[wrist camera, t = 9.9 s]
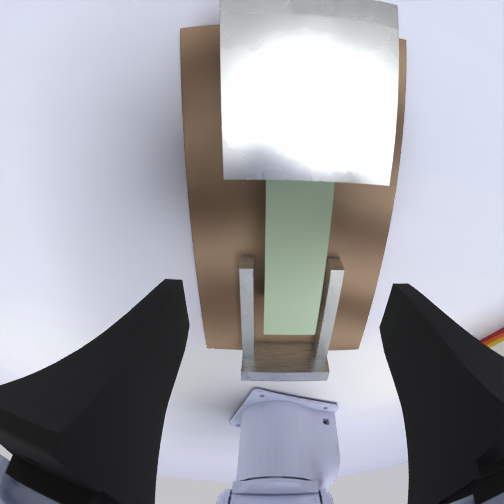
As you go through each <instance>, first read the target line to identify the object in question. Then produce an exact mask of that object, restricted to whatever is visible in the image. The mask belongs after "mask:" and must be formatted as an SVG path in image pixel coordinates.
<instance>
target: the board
mask: <svg viewBox="0 0 504 504" xmlns="http://www.w3.org/2000/svg"><path fill="white" fill-rule="evenodd" d="M180 53H181V90H182V113H183V131H184V147H185V162H186V175H187V187H188V198H189V209H190V220H191V229H192V239H193V248H194V257H195V265H196V273H197V281H198V289H199V296H200V304H201V311H202V318H203V325H204V331H205V338H206V344H207V348H214V349H234V350H242V327H241V303H240V276H239V267H240V261H241V255H247V256H254V276H255V342H314V340H315V335H267V334H264V293H265V226H266V180H224V173H223V146H222V113H221V68H220V25H208V26H198V27H189V28H181V29H180ZM405 93H406V40H404V39H399V79H398V103H397V118H396V131H395V142H394V152H393V161H392V169H391V177H390V184H389V186H386V185H374V184H360V183H344V182H335V185H334V196H333V207H332V216H331V226H330V235H329V243H328V251H327V257H340V259H341V262H342V265H343V267H344V276H343V282H342V287H341V292H340V298H339V303H338V308H337V313H336V317H335V322H334V327H333V331H332V336H331V340H330V345H329V349H328V350H352V349H358V348H359V345H360V342H361V339H362V335H363V332H364V329H365V325H366V322H367V318H368V315H369V311H370V308H371V304H372V300H373V297H374V293H375V289H376V285H377V281H378V277H379V273H380V269H381V264H382V260H383V255H384V251H385V246H386V241H387V237H388V231H389V226H390V221H391V215H392V210H393V204H394V198H395V192H396V185H397V178H398V171H399V163H400V154H401V145H402V135H403V124H404V111H405ZM326 263H327V259H326ZM325 270H326V267H325ZM324 278H325V274H324ZM323 285H324V281H323ZM322 291H323V288H322ZM321 298H322V295H321ZM320 304H321V301H320ZM319 311H320V308H319ZM318 317H319V314H318ZM317 323H318V320H317ZM316 329H317V326H316ZM315 334H316V332H315Z"/></svg>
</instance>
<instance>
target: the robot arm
mask: <svg viewBox="0 0 504 504" xmlns="http://www.w3.org/2000/svg"><path fill="white" fill-rule="evenodd" d="M379 328H380V333H381V338H382V343H383V348H384V353H385V356H386V359H387V362H388V365H389V368H390V371H391V374H392V377H393V380H394V383H395V387H396V390H397V393H398V396H399V399H400V403H401V407H402V411H403V417H404V423H405V430H406V438H407V448H408V464H409V489H408V504H504V357H503V356H502V355H500V354H498V353H497V352H495V351H494V350H492V349H491V348H489V347H488V346H486V345H485V344H483V343H482V342H480V341H479V340H478V339H476V338H475V337H473V336H472V335H471V334H470V333H468V332H467V331H466V330H464V329H463V328H462V327H461V326H459V325H458V324H457V323H456V322H454V321H453V320H452V319H451V318H450V317H448V316H447V315H446V314H445V313H444V312H443V311H441V310H440V309H439V308H438V307H437V306H436V305H434V304H433V303H432V302H431V301H430V300H429V299H427V298H426V297H425V296H424V295H423V294H421V293H420V292H419V291H418V290H416V289H415V288H414V287H412V286H411V285H410V284H393V286H392V289H391V293H390V296H389V299H388V303H387V306H386V309H385V312H384V315H383V318H382V321H381V324H380V327H379ZM188 331H189V319H188V313H187V307H186V301H185V295H184V289H183V282H182V280H174V279H165V280H164V281H162V282H161V283H160V284H159V285H158V286H157V287H156V288H154V289H153V290H152V291H151V292H150V293H149V294H148V295H147V296H146V297H145V298H144V299H142V300H141V301H140V302H139V303H138V304H137V305H136V306H135V307H133V308H132V309H131V310H130V311H129V312H128V313H127V314H126V315H124V316H123V317H122V318H121V319H119V320H118V321H117V322H116V323H115V324H113V325H112V326H111V327H110V328H108V329H107V330H106V331H105V332H103V333H102V334H101V335H99V336H98V337H96V338H95V339H94V340H92V341H91V342H89V343H88V344H86V345H85V346H83V347H82V348H80V349H79V350H77V351H75V352H73V353H72V354H70V355H68V356H67V357H65V358H63V359H61V360H60V361H58V362H56V363H54V364H52V365H50V366H48V367H46V368H44V369H42V370H40V371H37V372H35V373H33V374H31V375H28V376H26V377H23V378H20V379H18V380H15V381H12V382H9V383H6V384H3V385H0V444H1V445H2V446H3V447H4V448H6V449H7V450H8V451H9V452H10V453H11V454H13V456H12V458H11V461H9V460H8V459H6V458H5V457H3V456H2V455H0V504H155V487H156V475H157V465H158V457H159V449H160V442H161V436H162V430H163V424H164V419H165V413H166V409H167V405H168V401H169V398H170V395H171V392H172V389H173V386H174V383H175V379H176V376H177V373H178V370H179V367H180V364H181V361H182V358H183V354H184V351H185V347H186V342H187V337H188ZM337 410H338V405H337V404H331V403H325V402H319V401H314V400H308V399H303V398H298V397H293V396H288V395H283V394H278V393H274V392H269V391H265V390H261V389H254V390H253V391H252V392H251V393H250V395H249V396H248V397H247V399H246V400H245V402H244V403H243V404H242V406H241V407H240V408H239V410H238V411H237V412H236V414H235V415H234V416H233V418H232V419H231V421H230V425H231V426H235V427H240V428H241V433H240V445H239V456H238V467H237V479H236V481H233V487H232V489H225V490H224V492H222V493H221V494H220V495H219V496H218V499H217V503H216V504H333V499H332V496H331V494H330V493H329V492H327V491H326V490H325V488H327V487H329V486H330V485H331V484H332V483H333V481H334V480H335V478H336V476H337V473H338V470H339V464H340V453H339V444H338V436H337V428H336V420H335V413H334V412H336V411H337Z"/></svg>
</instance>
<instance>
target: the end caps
mask: <svg viewBox="0 0 504 504" xmlns="http://www.w3.org/2000/svg"><path fill="white" fill-rule="evenodd" d="M220 68H221V113H222V146H223V173H224V180H299V181H324V182H344V183H360V184H374V185H386V186H389V184H390V177H391V169H392V161H393V152H394V142H395V131H396V118H397V103H398V79H399V31H398V9H397V5H393V4H389V3H385V2H380V1H376V0H220ZM239 276H240V303H241V327H242V350H243V358H242V369H241V377H242V380H251V381H323V380H327V378H328V375H329V367H328V361H327V353H328V349H329V345H330V340H331V336H332V331H333V327H334V322H335V317H336V313H337V308H338V303H339V298H340V292H341V287H342V282H343V276H344V267H343V265H342V262H341V259H340V257H327V263H326V270H325V278H324V285H323V291H322V298H321V304H320V311H319V317H318V323H317V329H316V334H315V340H314V342H255V276H254V256H247V255H241V261H240V267H239Z"/></svg>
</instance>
